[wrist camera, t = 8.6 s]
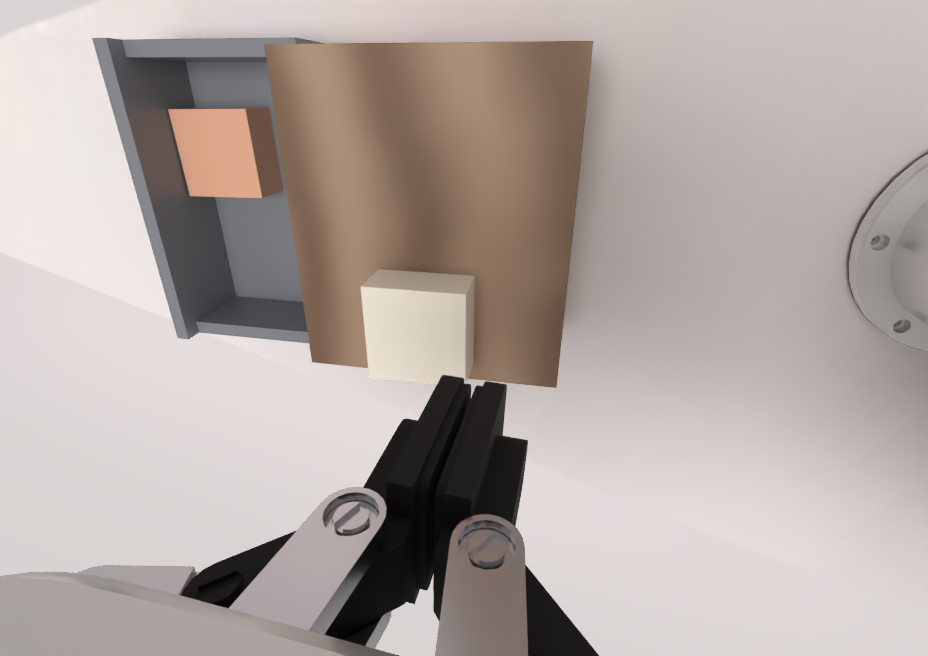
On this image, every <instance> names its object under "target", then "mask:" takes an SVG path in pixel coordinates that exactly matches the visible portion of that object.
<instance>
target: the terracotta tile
mask: <svg viewBox="0 0 928 656" xmlns="http://www.w3.org/2000/svg"><path fill="white" fill-rule="evenodd" d="M168 111H169V115H170V119H171V123H172V127H173V131H174V135H175V139H176V143H177V147H178V151H179V155H180V159H181V163H182V167H183V171H184V175H185V178H186V182H187V186H188V190H189V194H190V196H202V197H237V198H264V197H267V196H270V195H273V194H276V193H278V192H281V191H283V187H282V181H281V175H280V169H279V163H278V157H277V151H276V146H275V140H274V134H273V128H272V122H271V116H270V110H269V107H265V108H184V109H168Z"/></svg>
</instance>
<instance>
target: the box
mask: <svg viewBox="0 0 928 656" xmlns="http://www.w3.org/2000/svg"><path fill="white" fill-rule="evenodd" d="M92 39H93V43H94V46H95V50H96V53H97V57H98V60H99V64H100V67H101V71H102V74H103V78H104V81H105V85H106V88H107V92H108V95H109V99H110V102H111V106H112V109H113V113H114V116H115V120H116V123H117V127H118V130H119V134H120V137H121V141H122V144H123V148H124V151H125V155H126V158H127V162H128V165H129V169H130V172H131V176H132V179H133V183H134V186H135V190H136V193H137V197H138V200H139V204H140V207H141V211H142V214H143V218H144V221H145V225H146V228H147V232H148V235H149V239H150V242H151V246H152V249H153V253H154V256H155V260H156V263H157V267H158V270H159V274H160V277H161V281H162V284H163V288H164V291H165V295H166V298H167V302H168V305H169V309H170V312H171V316H172V319H173V323H174V326H175V329H176V333H177V337H178V338H183V339H190V338H191V337H193V336H194V335H196V334H197V333H199V332H200V333H210V334H221V335H231V336H241V337H251V338H261V339H271V340H282V341H292V342H302V343H309V337H308V331H307V324H306V318H305V311H304V305H303V298H302V291H301V285H300V278H299V272H298V265H297V258H296V252H295V245H294V239H293V232H292V226H291V219H290V212H289V206H288V199H287V193H286V186H285V180H284V173H283V166H282V160H281V153H280V147H279V140H278V134H277V127H276V120H275V114H274V107H273V101H272V94H271V88H270V81H269V74H268V68H267V61H266V55H265V48H264V44H325V43H320V42H314V41H309V40H304V39H299V38H227V39H144V40H120V39H111V38H92ZM265 107H269V110H270V116H271V122H272V128H273V134H274V140H275V146H276V151H277V157H278V163H279V169H280V175H281V181H282V187H283V191H281V192H278V193H276V194H273V195H270V196H267V197H264V198H237V197H202V196H190V194H189V190H188V186H187V182H186V178H185V175H184V171H183V167H182V163H181V159H180V155H179V151H178V147H177V143H176V139H175V135H174V131H173V127H172V123H171V119H170V115H169V111H168V109H184V108H265Z"/></svg>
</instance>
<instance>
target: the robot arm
mask: <svg viewBox="0 0 928 656" xmlns="http://www.w3.org/2000/svg"><path fill="white" fill-rule="evenodd" d="M874 237H875V239H874V240H873V241H872V239H873V238H874ZM871 241H872V242H871ZM849 283H850V286H851V290H852V293H853V296H854V300H855V301H856V303H857V304H858V306H859V308H860V309H861V311H862V313H863V314H864V315H865V316H866V317H867V318H868V319H869V320H870V321H871V322H872V323H873V324H874V325H875V326H876V327H877V328H879V329H880V330H881V331H883V332H884V333H885V334H887V335H888V336H890V337H891V338H893V339H895V340H897V341H899V342H901V343H904V344H906V345H908V346H910V347H914V348H918V349H922V350H926V351H928V154H926V155H925V156H923V157H922V158H920V159H919V160H917V161H916V162H914V163H913V164H912V165H911V166H910V167H909V168H907V169H906V170H905V171H904V172H903V173H901V174H900V175H899V176H898V177H897V178H895V179H894V180H893V181H892V182H891V184H890V185H889V186H888V187H887V188H886V189H885V190H884V191H883V193H882V194H881V195H880V196H879V197H878V198H877V199H876V200H875V202H874V203H873V205H872V207H871V208H870V210H869V211H868V213H867V214H866V216H865V217H864V219H863V220H862V222H861V225H860V227H859V229H858V232H857V234H856V236H855V239H854V241H853V244H852V249H851V254H850V259H849ZM506 389H507V386H506V385H505V384H499V383H493V382H485V383H484V386H483V387H482V386H476V388H475V390H474V393H473V395H472V398H471V385H470V384H464V378H461V377H455V376H448V375H442V376H441V378H440V380H439V382H438V384H437V386H436V388H435V390H434V391H433V393H432V395H431V397H430V399H429V401H428V403H427V405H426V407H425V409H424V410H423V412H422V414H421V416H420V418H419V420H418V421H416V420H411V419H404V420H403V421H402V422H401V423H400V425H399V426H398V428H397V430H396V432H395V433H394V435H393V437H392V439H391V440H390V442H389V444H388V446H387V447H386V449H385V451H384V452H383V454H382V456H381V458H380V459H379V461H378V463H377V465H376V466H375V468H374V470H373V472H372V473H371V475H370V477H369V478H368V480H367V482H366V484H365V485H364V487H363V488H361V487H352V488H346V489H343V490H339V491H337V492H335V493H333V494H332V495H329V496H328V497H327V498H326V499H325V500H324V501H323V502H322V503H321V504H320V505H319V506H318V507H317V508H316V509H315V511H314V512H313V513H312V514H311V515H310V516H309V517H308V519H307V520H306V521H305V522H304V523H303V524H302V525H301V526H300V528H299V529H298V530H297V531H294V532H292V533H289V534H287V535H284V536H282V537H280V538H277V539H275V540H272V541H270V542H267V543H265V544H262V545H260V546H257V547H255V548H252V549H250V550H247V551H245V552H242V553H240V554H237V555H235V556H232V557H230V558H227V559H225V560H222V561H220V562H218V563H215V564H213V565H212V566H209V567H208V568H206V569H204V570H202V571H201V572H196V571H195V568H194V567H184V566H183V567H182V566H113V565H111V566H110V565H105V566H97V567H92V568H89V569H86V570H84V571H81V572H79V573H68V572H30V573H21V574H14V575H6V576H0V656H398V655H395V654H391V653H387V652H384V651H380V650H376V649H375V647H376V645H377V643H378V642H379V640H380V638H381V636H382V634H383V632H384V630H385V629H386V627H387V625H388V623H389V620H390V617H391V611H392V610H394V609H396V608H398V607H400V606H401V605H403V604H405V602H409V603H413V604H415V601H416V598H417V595H418V593H419V590H420V589H423V590H428V588H429V585H430V582H431V579H432V576H433V573H434V613H435V614H436V616H437V618H438V620H439V630H438V637H437V645H436V652H435V656H599V655H598V654H597V653H596V651H595V650H594V649H593V648H592V646H591V645H590V644H589V643H588V642H587V640H586V639H585V638H584V637H583V635H582V634H581V633H580V632H579V630H578V629H577V628H576V627H575V626H574V624H573V623H572V622H571V620H570V619H569V618H568V617H567V616H566V615H565V613H564V612H563V611H562V610H561V608H560V607H559V606H558V604H557V603H556V602H555V601H554V599H553V598H552V597H551V596H550V595H549V593H548V592H547V591H546V590H545V588H544V587H543V586H542V585H541V583H540V582H539V581H538V580H537V578H536V577H535V576H534V575H533V574H532V572H531V571H530V570H529V569H528V567H527V566H526V565H525V547H524V542H523V538H522V536H521V534H520V533H519V531H518V529H517V528H516V527H515V524H516V519H517V513H518V508H519V502H520V497H521V490H522V484H523V476H524V470H525V462H526V454H527V445H528V440H523V439H517V438H511V437H506V436H502V435H503V423H504V412H505V401H506Z"/></svg>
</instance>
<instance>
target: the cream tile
mask: <svg viewBox="0 0 928 656" xmlns="http://www.w3.org/2000/svg"><path fill="white" fill-rule="evenodd" d="M361 297H362V308H363V318H364V329H365V340H366V350H367V361H368V371H369V378H375V379H384V380H394V381H403V382H412V383H421V384H430V385H437V384H438V382H439V380H440V378H441V376H442V375H448V376H455V377H461V378H464V384H467V381H468V378H469V375H470V372H471V369H472V366H473V363H474V306H475V276H470V275H456V274H441V273H427V272H413V271H398V270H384V269H378V270H377V271H376V272H375V273H374V274H373V275H372V276H371V277H370V278H369V279H368V280H367V281H366V282H365V283H364V284H363V285H362V286H361Z"/></svg>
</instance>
